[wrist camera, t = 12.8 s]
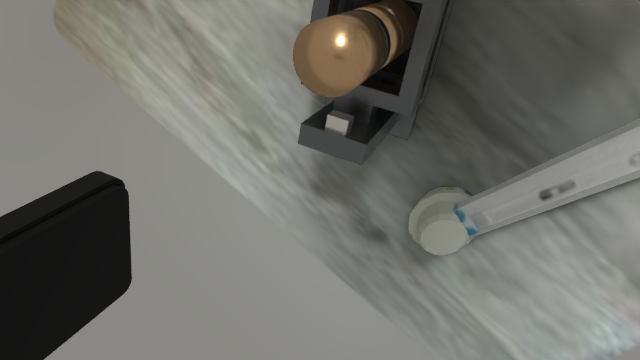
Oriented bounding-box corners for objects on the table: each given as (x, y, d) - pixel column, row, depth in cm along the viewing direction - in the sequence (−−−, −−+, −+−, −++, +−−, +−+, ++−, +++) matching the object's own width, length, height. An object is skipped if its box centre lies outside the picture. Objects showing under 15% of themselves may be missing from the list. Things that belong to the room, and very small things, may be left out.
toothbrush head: (792, 143, 28) (423, 284, 39) (735, 118, 34) (428, 246, 45) (759, 67, 28) (390, 232, 38) (706, 56, 34) (400, 200, 44)
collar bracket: (460, -17, 35) (436, -9, 27) (414, 137, 41) (384, 183, 33) (351, -41, 37) (298, -40, 29) (323, 109, 44) (273, 145, 35)
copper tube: (371, -7, 38) (298, 10, 26) (424, 6, 37) (372, 29, 25) (360, 48, 40) (288, 85, 28) (410, 61, 39) (356, 106, 27)
